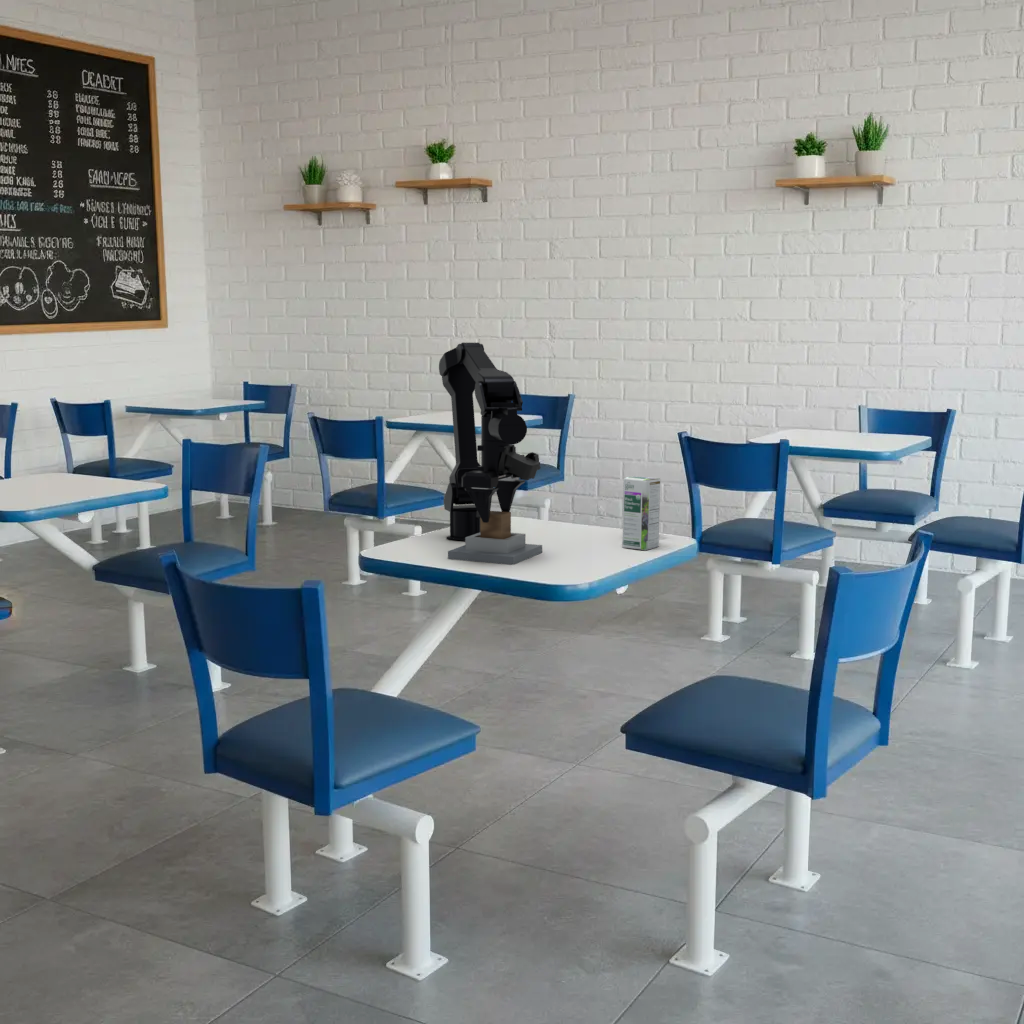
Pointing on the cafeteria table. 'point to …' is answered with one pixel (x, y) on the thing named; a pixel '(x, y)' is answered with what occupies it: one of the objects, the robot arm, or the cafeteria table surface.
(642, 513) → the syrup box
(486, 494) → the robot arm
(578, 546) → the cafeteria table surface
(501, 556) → the socket block
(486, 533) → the walnut peg
